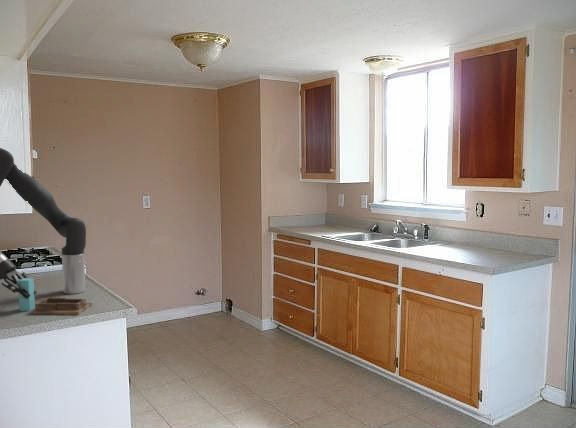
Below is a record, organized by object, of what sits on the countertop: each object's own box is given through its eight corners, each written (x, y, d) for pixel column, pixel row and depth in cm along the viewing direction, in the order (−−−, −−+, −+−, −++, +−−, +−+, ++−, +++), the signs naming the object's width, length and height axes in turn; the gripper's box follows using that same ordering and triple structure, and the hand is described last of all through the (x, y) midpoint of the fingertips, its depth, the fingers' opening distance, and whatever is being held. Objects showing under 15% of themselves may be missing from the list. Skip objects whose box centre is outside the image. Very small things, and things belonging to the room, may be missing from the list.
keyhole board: (47, 304, 210) (47, 296, 210) (91, 305, 210) (91, 296, 210) (31, 314, 198) (31, 305, 197) (78, 314, 197) (77, 305, 197)
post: (25, 307, 206) (23, 278, 205) (35, 307, 206) (33, 278, 205) (19, 310, 202) (18, 280, 201) (29, 310, 202) (28, 280, 201)
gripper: (-5, 261, 195) (28, 293, 196) (16, 255, 209) (47, 284, 210) (-18, 275, 196) (15, 307, 197) (3, 267, 210) (34, 297, 211)
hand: (31, 295), depth 204 cm, fingers closed on post, 4 cm apart
